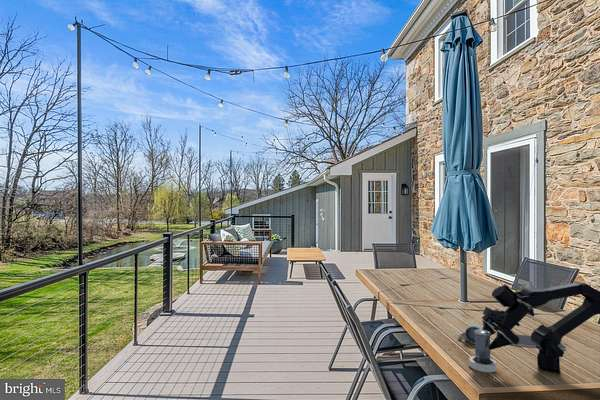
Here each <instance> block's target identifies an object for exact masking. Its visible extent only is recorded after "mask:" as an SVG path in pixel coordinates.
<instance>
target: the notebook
mask: <svg viewBox="0 0 600 400" xmlns="http://www.w3.org/2000/svg"><path fill="white" fill-rule="evenodd" d="M516 335H517V336H518V337H519V342H518V343H517V344H516V345H515V344H513V343H512V344H513V345H512V346H517V347H527V348H536V346H535V344H534V343H533V342H532V341H531V335H525V334H516ZM558 347H560V348H561V349H562V350H563V351H565V350H566V346H565V345H564V344H562V342H560V344H559V345H558Z"/></svg>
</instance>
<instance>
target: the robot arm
mask: <svg viewBox="0 0 600 400" xmlns="http://www.w3.org/2000/svg"><path fill="white" fill-rule="evenodd" d="M579 295H581V297H583V298H584V299H583V302H582V303H581V305H579V306H578V307H577V308H575V309H574V310H572V311H570V313H568V314H567V315H565V316H563V317H562V318H561V319H559V320H558V321H555V323H554V324H552V325H550V326H549V325H548V326H546V325H544V324H540V325H539V326H538V327H537V328H533V330H532V332H531V334H530V336H531V341H532V342H533V343H534V344H535V346H536V347H535V349H537V350H538V352H537V355H536V356H537V357H536V360H537V364H536V365H537V367H538V370H539V371H543V372H549V373H552V374H558V375H560V374H561V367H560V366H561V365H560V363H561V362H560V358H563V357H564V354H565V350H562V349H561V348H560V347H558V345H559V344H560V343H562V339H563V338H564V337H565V336H566V335H568V334H569V333H571V332H572V331H574V330H575V329H576V328H578V327H579V326H581V325H582V324H584V323H585V322H586V321H588V320H590V319H591V318H592V317H594V316H596V315H600V290H599V289H596V288H594V287H593V286H590V285H589V284H588V283H585V282H582V281H574V282H572V283H567V284H561V285H556V286H551V287H546V288H540V287H539V288H537V287H533V288H525V289H523V290H521V291H519V292H515V291H514V290H512V289H511V287H510V286H509V285H507V284H506V283H504V284H503V285H502V286H501V285H500V286H498V287H497V288H494V290H492V293H491V296H492V298H494V299H495V300H496V301H497V302H498V303H499V304H500V305H501V306H502V307H504V308H506V309H505V310H503V309H502V310H499V309H496V308H495V309H492V308H490V307H488V306H485V308H484V310H483V313H482V315H483V316H482V317H481V321H482V325H483V326H482V330H486V331H489V332H490V337H491V336H493V335H495V334H496V336H495V337H494V339H493V340H492V342H490V346H489V347H488V348H489V349H490V351H491V350H496V349H498V348H502V347H503V348H504V347H507V346H515V345H516V344H517V343H518V342H519V337H518V336H517V335H518V334H516V333H515V332H513V331H512V330H513V329H514V327H516V326H517V327H520V326H521V324H520V321H522V320H523V319H524V317H526V316H527V315H529V316H532V317H535V313H534V308H539V307H541V306H544V305H546V304H547V303H549V302H550V301H554V300H558V299H564V298H571V297H575V296H579ZM517 299H518V300H520V301H522V302H524V303H526V304H528V305H530V307H527V306H526V305H525V304H524V303H520V302H519V301H518V300H517ZM512 343H513V344H515V345H513V344H512Z"/></svg>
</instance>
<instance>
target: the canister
mask: <svg viewBox="0 0 600 400" xmlns="http://www.w3.org/2000/svg"><path fill="white" fill-rule="evenodd" d="M474 332H475V344H474V353H475V355H474V356H475V362H476V363H479V364H484V365H489V364H491V359H492V358H491V350H490V349H489V348H488V347H489V346H490V344H491V336H490V332H489V331H486V330H480V329H478V330H475V331H474Z"/></svg>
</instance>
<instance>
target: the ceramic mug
mask: <svg viewBox="0 0 600 400" xmlns="http://www.w3.org/2000/svg"><path fill="white" fill-rule="evenodd" d="M478 329H480V330H482V329H483V327H481V325H479V324H477V323H471V324H469V325H468V326H466V328H465V331H464V332H462V333H460V334H458V339H459V340H460V341H461V340H467V341H468V342H469V343H471V344H473V345H475V332H474V331H475V330H478Z"/></svg>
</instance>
